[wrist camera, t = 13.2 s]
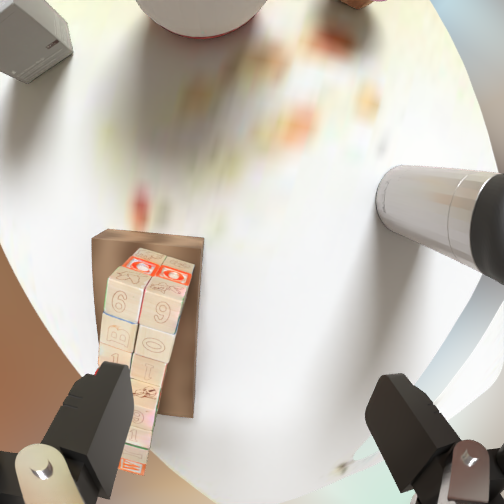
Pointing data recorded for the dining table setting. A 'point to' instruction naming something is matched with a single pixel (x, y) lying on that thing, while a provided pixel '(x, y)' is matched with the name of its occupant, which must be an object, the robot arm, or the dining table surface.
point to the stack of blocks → (143, 337)
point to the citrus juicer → (201, 15)
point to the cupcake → (359, 3)
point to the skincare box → (31, 38)
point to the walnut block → (185, 345)
